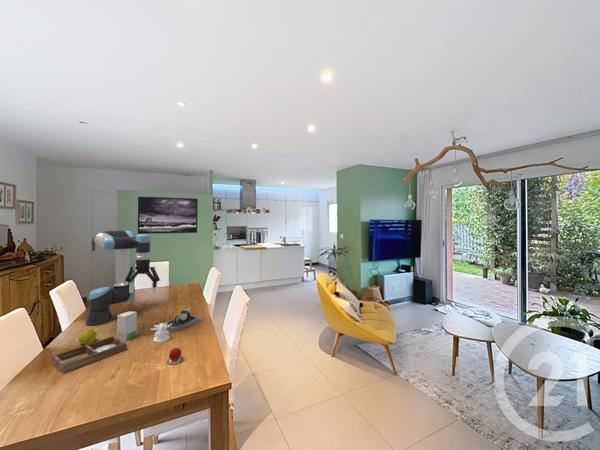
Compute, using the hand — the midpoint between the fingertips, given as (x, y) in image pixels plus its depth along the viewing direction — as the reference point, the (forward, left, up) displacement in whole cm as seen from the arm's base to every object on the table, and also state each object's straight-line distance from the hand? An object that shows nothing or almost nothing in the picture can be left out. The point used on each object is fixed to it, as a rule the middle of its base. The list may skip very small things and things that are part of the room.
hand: (142, 292), depth 156 cm
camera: (+5, +24, -27) cm, 37 cm away
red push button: (+45, -6, -27) cm, 53 cm away
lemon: (-14, -23, -27) cm, 38 cm away
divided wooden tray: (+6, -28, -27) cm, 39 cm away
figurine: (+16, +3, -27) cm, 32 cm away
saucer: (+6, -21, -26) cm, 34 cm away
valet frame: (+5, +23, -27) cm, 36 cm away
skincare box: (-2, -8, -27) cm, 28 cm away
